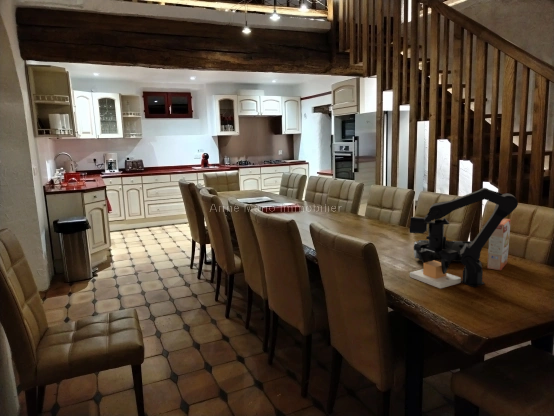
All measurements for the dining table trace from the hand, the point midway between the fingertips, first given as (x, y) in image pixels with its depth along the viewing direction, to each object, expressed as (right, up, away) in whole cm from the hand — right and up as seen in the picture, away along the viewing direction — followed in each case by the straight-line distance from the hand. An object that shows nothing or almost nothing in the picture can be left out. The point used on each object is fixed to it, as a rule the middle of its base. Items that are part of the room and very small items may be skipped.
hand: (435, 270), depth 162 cm
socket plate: (0, -4, +1) cm, 4 cm away
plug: (0, -4, +1) cm, 4 cm away
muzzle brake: (+15, 0, +24) cm, 28 cm away
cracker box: (+35, 0, +14) cm, 37 cm away
